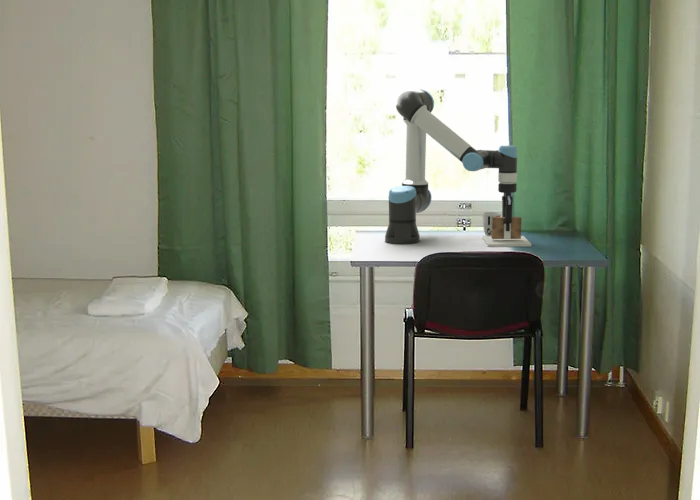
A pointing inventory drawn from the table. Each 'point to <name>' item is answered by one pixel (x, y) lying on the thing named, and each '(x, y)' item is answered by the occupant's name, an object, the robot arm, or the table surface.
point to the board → (499, 228)
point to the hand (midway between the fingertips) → (506, 237)
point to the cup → (489, 221)
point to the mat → (505, 242)
